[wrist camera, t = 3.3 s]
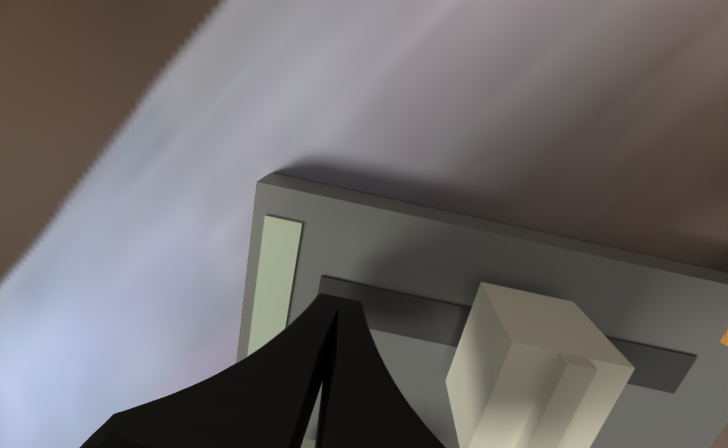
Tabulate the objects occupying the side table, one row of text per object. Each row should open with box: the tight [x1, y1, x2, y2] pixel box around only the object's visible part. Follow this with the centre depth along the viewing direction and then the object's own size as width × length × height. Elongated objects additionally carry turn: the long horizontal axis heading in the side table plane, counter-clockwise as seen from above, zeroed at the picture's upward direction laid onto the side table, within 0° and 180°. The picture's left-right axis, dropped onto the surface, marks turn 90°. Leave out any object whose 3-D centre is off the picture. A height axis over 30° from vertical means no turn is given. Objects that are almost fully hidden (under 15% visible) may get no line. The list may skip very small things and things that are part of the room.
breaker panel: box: [236, 173, 728, 448], centre depth 14 cm, size 15×18×2 cm
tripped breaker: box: [446, 282, 635, 448], centre depth 10 cm, size 4×3×3 cm
